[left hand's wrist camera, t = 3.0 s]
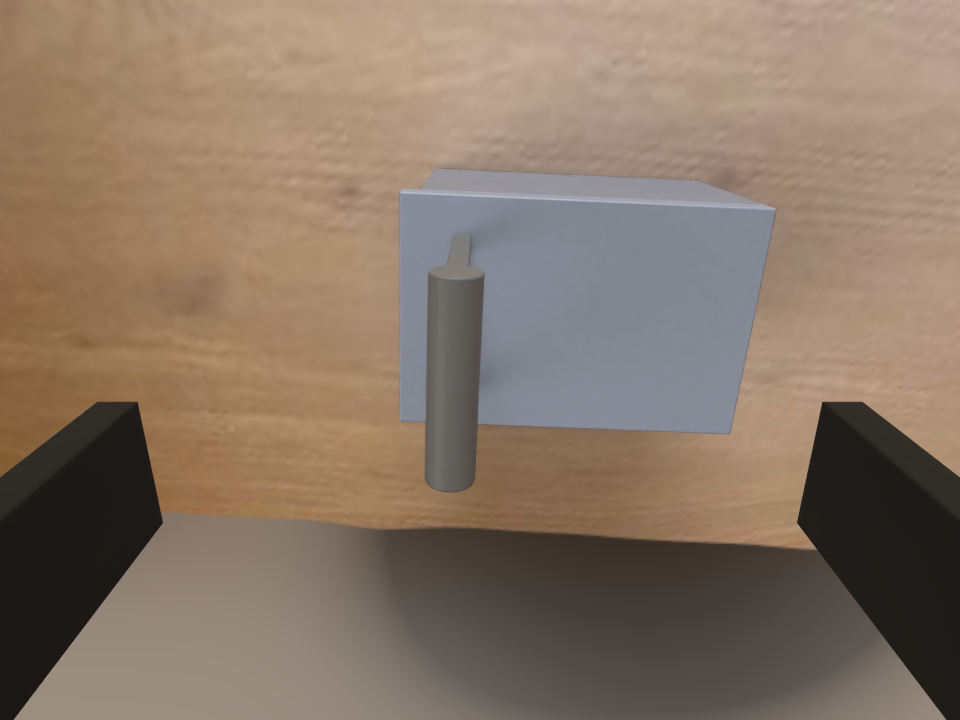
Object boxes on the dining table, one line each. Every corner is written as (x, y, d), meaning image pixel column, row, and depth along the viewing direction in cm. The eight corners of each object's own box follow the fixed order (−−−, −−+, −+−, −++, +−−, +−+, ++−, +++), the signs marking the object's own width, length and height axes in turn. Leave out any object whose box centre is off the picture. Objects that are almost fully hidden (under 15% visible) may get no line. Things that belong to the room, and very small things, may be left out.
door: (402, 411, 29) (373, 525, 21) (402, 188, 25) (367, 225, 17) (722, 424, 29) (811, 542, 21) (766, 204, 25) (892, 249, 18)
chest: (431, 343, 37) (417, 411, 29) (435, 168, 33) (420, 188, 25) (669, 353, 37) (722, 423, 29) (697, 180, 33) (766, 204, 25)
